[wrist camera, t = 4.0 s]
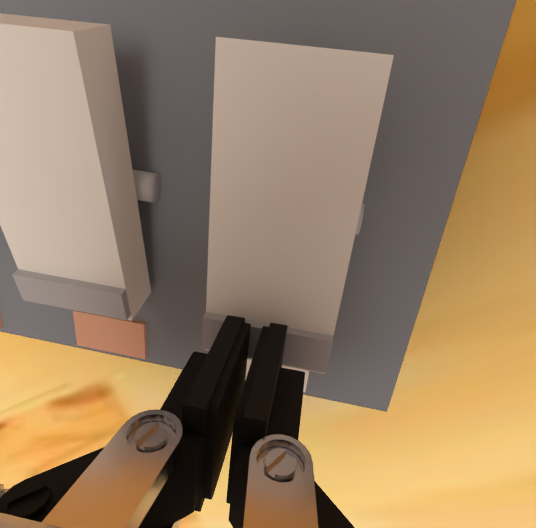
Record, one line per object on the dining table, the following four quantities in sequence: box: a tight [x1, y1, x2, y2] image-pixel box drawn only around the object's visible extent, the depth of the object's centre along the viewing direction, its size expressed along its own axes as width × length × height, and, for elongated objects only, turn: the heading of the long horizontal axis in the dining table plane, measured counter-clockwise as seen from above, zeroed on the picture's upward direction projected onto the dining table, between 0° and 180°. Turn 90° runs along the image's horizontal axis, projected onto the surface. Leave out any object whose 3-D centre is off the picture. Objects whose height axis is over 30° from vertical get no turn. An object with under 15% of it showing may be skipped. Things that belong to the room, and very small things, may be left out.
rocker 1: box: [0, 13, 151, 321], centre depth 12 cm, size 9×4×2 cm, turn 174°
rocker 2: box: [202, 37, 394, 374], centre depth 11 cm, size 9×4×2 cm, turn 174°
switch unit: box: [0, 0, 516, 412], centre depth 15 cm, size 16×24×5 cm, turn 84°
